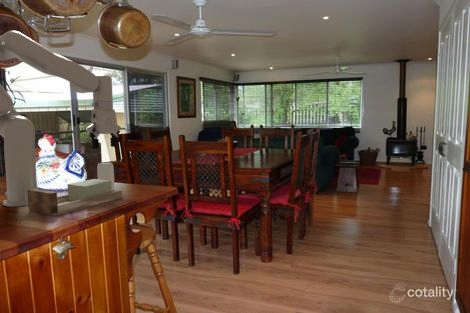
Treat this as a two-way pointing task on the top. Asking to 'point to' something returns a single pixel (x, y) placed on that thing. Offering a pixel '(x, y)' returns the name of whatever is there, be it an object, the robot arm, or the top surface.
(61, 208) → the channel
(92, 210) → the top surface
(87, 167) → the brown textured cylinder
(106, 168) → the can
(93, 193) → the sliding block
